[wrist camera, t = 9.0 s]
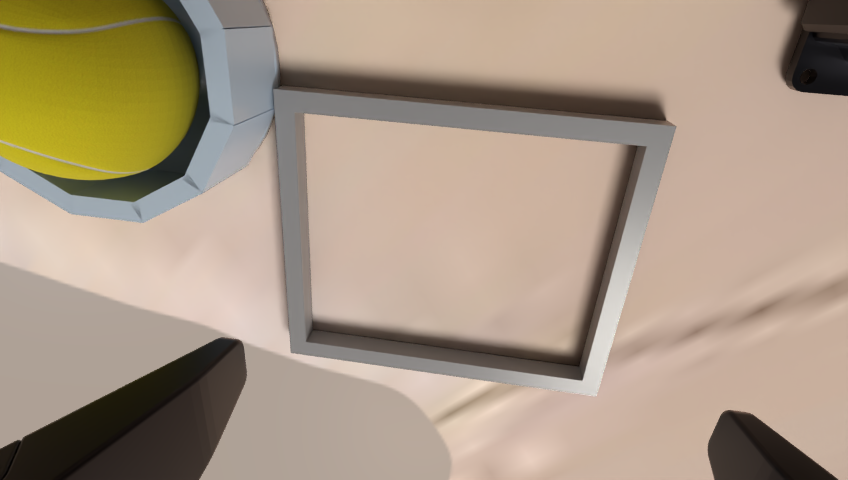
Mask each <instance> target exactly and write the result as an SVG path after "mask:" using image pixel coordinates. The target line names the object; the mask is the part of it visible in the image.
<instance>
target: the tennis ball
mask: <svg viewBox="0 0 848 480" xmlns="http://www.w3.org/2000/svg"><path fill="white" fill-rule="evenodd" d="M199 91H200V76H199V67H198V62H197V57H196V53H195V50H194V47H193V44H192V41H191V39H190V37H189V35H188V33H187V31H186V30H185V28H184V27H183V26H182V24H181V22H180V20H179V18H178V17H177V16H176V14H175V13H174V12H173V11H172V10H171V9H170V7H169V6H168V5H167V4H166V3H165V2H164V1H163V0H0V156H1V157H3V158H5V159H7V160H9V161H11V162H13V163H15V164H18V165H20V166H23V167H25V168H28V169H31V170H34V171H37V172H40V173H43V174H48V175H52V176H57V177H61V178H68V179H77V180H105V179H113V178H120V177H125V176H129V175H134V174H137V173H140V172H143V171H146V170H148V169H150V168H152V167H154V166H155V165H157V164H159V163H160V162H161V161H163V160H164V159H165V158H166V157H167V156H169V155H170V154H171V153H172V152H173V151H174V149H175V148H176V147H177V146H178V145H179V144H180V142H181V141H182V140H183V138H184V137H185V135H186V134H187V132H188V130H189V128H190V126H191V124H192V122H193V119H194V116H195V114H196V110H197V106H198V100H199Z"/></svg>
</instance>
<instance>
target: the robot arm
mask: <svg viewBox="0 0 848 480" xmlns="http://www.w3.org/2000/svg"><path fill="white" fill-rule="evenodd" d="M801 24H802V27H803V31H802V34H801V36H800V39H799V42H798V44H797V47H796V50H795V52H794V55H793V57H792V60H791V63H790V65H789V68H788V71H787V73H786V78H785V81H786V84H787V86H788V87H789V88H790V89H793V90H796V91H800V92H808V93H819V94H831V95H843V96H848V0H809V2H808V4H807V7H806V10H805V12H804V15H803V18H802V20H801ZM807 69H809V71H810V76H809V78H808V79H807V80H806V81H804V82H803V83H801V81H800V76H801V74H802V73H803V72H804V71H805V70H807ZM246 376H247V370H246V362H245V353H244V346H243V343H242V342H241V341H240V340H238V339H232V338H225V337H221V338H218V339H216V340H214V341H212V342H210V343H208V344H206V345H204V346H202V347H200V348H198V349H196V350H194V351H192V352H190V353H188V354H186V355H184V356H182V357H180V358H178V359H176V360H175V361H172V362H170V363H168V364H167V365H165V366H163V367H161V368H159V369H157V370H155V371H153V372H151V373H149V374H147V375H145V376H143V377H141V378H139V379H137V380H135V381H133V382H131V383H129V384H127V385H125V386H123V387H122V388H119V389H117V390H115V391H113V392H111V393H109V394H107V395H105V396H104V397H102V398H100V399H98V400H96V401H94V402H92V403H90V404H88V405H86V406H84V407H82V408H80V409H78V410H76V411H74V412H72V413H70V414H68V415H66V416H64V417H62V418H60V419H58V420H56V421H54V422H52V423H50V424H48V425H46V426H44V427H42V428H40V429H38V430H36V431H34V432H32V433H31V434H29V435H27V436H25V437H23V439H22V441H20V440H17V441H14V442H13V443H11V444H9V445H7V446H5V447H3V448H1V449H0V480H199V479H200V477H201V475H202V474H203V472H204V470H205V468H206V466H207V465H208V463H209V461H210V459H211V458H212V455H213V453H214V451H215V449H216V447H217V445H218V443H219V441H220V439H221V436H222V434H223V432H224V430H225V427H226V425H227V423H228V421H229V418H230V416H231V414H232V412H233V409H234V407H235V405H236V403H237V400H238V398H239V396H240V394H241V391H242V389H243V387H244V385H245V381H246ZM708 456H709V460H710V464H711V468H712V472H713V476H714V479H715V480H838V479H837V478H836V477H834V476H833V475H832V474H830V473H829V472H828V471H827V470H825V469H824V468H823V467H821V466H820V465H819V464H817V463H816V462H815V461H813V460H812V459H811V458H809V457H808V456H807V455H805V454H804V453H803V452H802V451H800V450H799V449H798V448H796V447H795V446H794V445H792V444H791V443H790V442H788V441H787V440H786V439H784V438H783V437H782V436H780V435H779V434H778V433H777V432H775V431H774V430H773V429H771V428H770V427H769V426H767V425H766V424H765V423H763V422H762V421H761V420H759V419H758V418H757V417H755V416H754V415H753V414H750V413H747V412H740V411H733V410H726V411H724V412H723V413H722V414H721V416H720V418H719V420H718V422H717V425H716V427H715V429H714V431H713V433H712V436H711V438H710V440H709V443H708Z"/></svg>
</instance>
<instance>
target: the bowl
mask: <svg viewBox="0 0 848 480" xmlns="http://www.w3.org/2000/svg"><path fill="white" fill-rule="evenodd" d="M163 1H164V2H165V3H166V4H167V5H168V6H169V7H170V9H171V10H172V11H173V12H174V13H175V14H176V16H177V17H178V18H179V20H180V22H181V24H182V26H183V27H184V28H185V30H186V31H187V33H188V35H189V37H190V39H191V41H192V44H193V47H194V50H195V53H196V57H197V62H198V67H199V76H200V91H199V100H198V106H197V110H196V114H195V116H194V119H193V122H192V124H191V126H190V128H189V130H188V132H187V134H186V135H185V137H184V138H183V140H182V141H181V142H180V144H179V145H178V146H177V147H176V148H175V149H174V151H173V152H172V153H171V154H170V155H169V156H167V157H166V158H165V159H164V160H163V161H161V162H160V163H159V164H157V165H155V166H154V167H152V168H150V169H148V170H146V171H143V172H140V173H137V174H134V175H129V176H125V177H120V178H113V179H105V180H77V179H68V178H61V177H57V176H52V175H48V174H43V173H40V172H37V171H34V170H31V169H28V168H25V167H23V166H20V165H18V164H15V163H13V162H11V161H9V160H7V159H5V158H3V157H1V156H0V172H2V173H4V174H5V175H7V176H9V177H10V178H12V179H14V180H15V181H17V182H19V183H20V184H22V185H24V186H25V187H27V188H28V189H30V190H32V191H33V192H35V193H37V194H38V195H40V196H42V197H43V198H45V199H47V200H48V201H50V202H52V203H53V204H55V205H57V206H58V207H60V208H62V209H63V210H65V211H67V212H68V213H70V214H75V215H83V216H91V217H100V218H108V219H116V220H124V221H132V222H141V223H143V222H146V221H148V220H150V219H152V218H154V217H156V216H158V215H160V214H162V213H164V212H166V211H168V210H170V209H172V208H174V207H176V206H178V205H180V204H182V203H184V202H186V201H188V200H190V199H192V198H194V197H196V196H198V195H200V194H202V193H204V192H205V191H207V190H209V189H210V188H212V187H213V186H215V185H217V184H218V183H220V182H222V181H223V180H225V179H226V178H228V177H230V176H231V175H233V174H235V173H236V172H238V171H240V170H241V169H243V168H244V167H246V166H247V165H248V164H249V162H250V160H251V158H252V156H253V154H254V153H255V152H256V151H257V150H258V149H259V147H260V146H261V144H262V142H263V141H264V139H265V137H266V136H267V134H268V132H269V129H270V127H271V124H272V122H273V120H274V116H275V109H274V94H273V89H275V88H278V87H280V63H279V54H278V46H277V42H276V38H275V34H274V29H273V26H272V23H271V20H270V17H269V14H268V12H267V9H266V6H265V4H264V2H263V0H163Z"/></svg>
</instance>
